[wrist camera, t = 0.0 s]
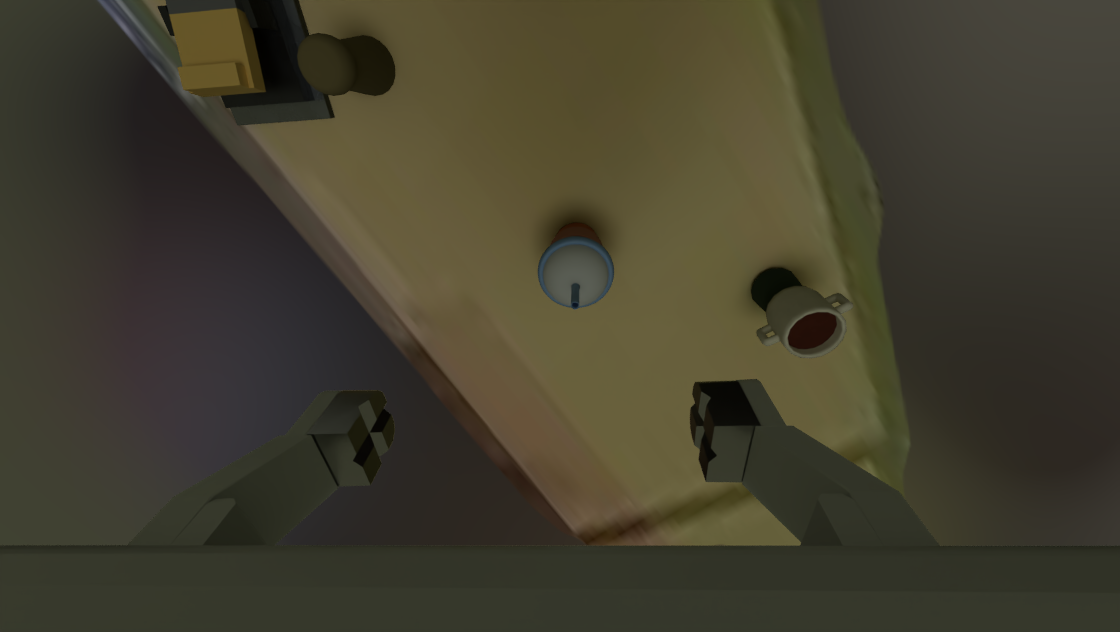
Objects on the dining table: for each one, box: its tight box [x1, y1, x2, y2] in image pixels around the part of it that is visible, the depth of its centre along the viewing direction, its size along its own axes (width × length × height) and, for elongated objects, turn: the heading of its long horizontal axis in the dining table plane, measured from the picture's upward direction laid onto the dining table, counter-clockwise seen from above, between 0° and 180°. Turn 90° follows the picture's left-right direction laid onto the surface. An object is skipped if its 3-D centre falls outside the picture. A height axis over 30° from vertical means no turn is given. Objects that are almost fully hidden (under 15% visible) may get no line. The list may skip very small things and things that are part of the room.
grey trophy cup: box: [751, 268, 853, 358], centre depth 55 cm, size 11×7×13 cm, turn 124°
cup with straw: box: [538, 223, 614, 309], centre depth 51 cm, size 9×9×18 cm
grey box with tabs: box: [157, 0, 335, 125], centre depth 44 cm, size 20×12×7 cm, turn 4°
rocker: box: [165, 0, 266, 97], centre depth 41 cm, size 14×7×3 cm, turn 4°
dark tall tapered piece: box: [297, 33, 395, 96], centre depth 44 cm, size 6×6×11 cm
